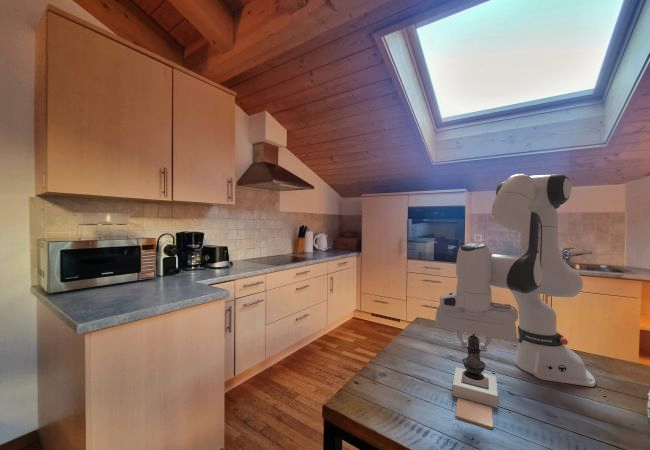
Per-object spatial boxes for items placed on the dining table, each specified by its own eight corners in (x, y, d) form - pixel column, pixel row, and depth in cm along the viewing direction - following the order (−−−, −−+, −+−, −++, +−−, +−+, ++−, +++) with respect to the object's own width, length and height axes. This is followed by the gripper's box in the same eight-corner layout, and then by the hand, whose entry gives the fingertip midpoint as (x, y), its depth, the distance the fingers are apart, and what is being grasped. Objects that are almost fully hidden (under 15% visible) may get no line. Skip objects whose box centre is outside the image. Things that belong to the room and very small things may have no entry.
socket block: (496, 386, 90) (496, 376, 90) (497, 408, 80) (497, 396, 80) (456, 377, 96) (455, 367, 96) (452, 395, 86) (452, 384, 86)
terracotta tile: (492, 409, 79) (492, 407, 79) (493, 429, 72) (493, 427, 72) (457, 399, 84) (457, 397, 84) (455, 417, 76) (455, 415, 76)
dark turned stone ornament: (458, 374, 78) (458, 332, 78) (466, 367, 82) (466, 327, 82) (481, 383, 73) (481, 339, 73) (488, 375, 77) (488, 333, 77)
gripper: (516, 302, 75) (516, 352, 75) (437, 293, 86) (437, 337, 85) (519, 308, 70) (519, 362, 70) (434, 298, 80) (434, 345, 80)
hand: (473, 348), depth 78 cm, fingers closed on dark turned stone ornament, 4 cm apart
